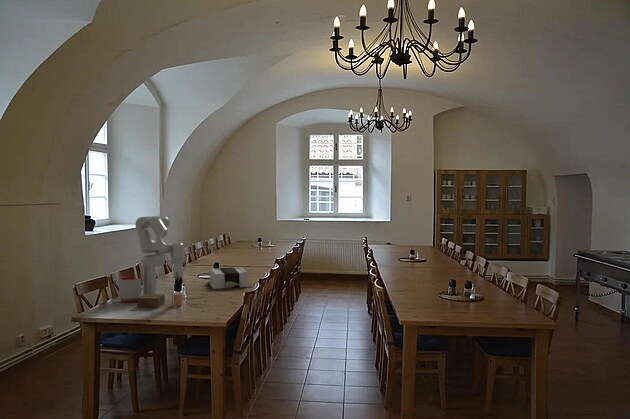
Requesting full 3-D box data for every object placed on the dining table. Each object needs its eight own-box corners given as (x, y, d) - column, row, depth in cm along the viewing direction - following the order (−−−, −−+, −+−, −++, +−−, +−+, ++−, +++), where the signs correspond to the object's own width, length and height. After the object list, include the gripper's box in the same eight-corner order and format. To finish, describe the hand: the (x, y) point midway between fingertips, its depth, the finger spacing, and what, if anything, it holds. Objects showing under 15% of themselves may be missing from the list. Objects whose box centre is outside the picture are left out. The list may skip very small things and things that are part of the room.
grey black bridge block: (252, 288, 411) (252, 273, 410) (211, 290, 400) (211, 275, 400) (244, 280, 444) (244, 266, 444) (206, 282, 434) (206, 268, 433)
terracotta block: (174, 304, 351) (174, 292, 351) (183, 304, 351) (183, 292, 351) (173, 306, 345) (172, 294, 345) (181, 306, 345) (181, 294, 345)
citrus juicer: (148, 299, 364) (148, 272, 363) (129, 304, 348) (129, 275, 348) (132, 297, 371) (132, 270, 370) (113, 301, 355) (113, 273, 355)
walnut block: (144, 303, 352) (144, 293, 352) (164, 304, 352) (164, 294, 352) (137, 308, 338) (137, 298, 338) (157, 308, 338) (157, 298, 338)
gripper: (175, 259, 355) (176, 283, 356) (170, 262, 338) (170, 288, 338) (186, 259, 356) (186, 283, 356) (181, 262, 338) (181, 287, 339)
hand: (178, 285), depth 347 cm, fingers open, 9 cm apart
